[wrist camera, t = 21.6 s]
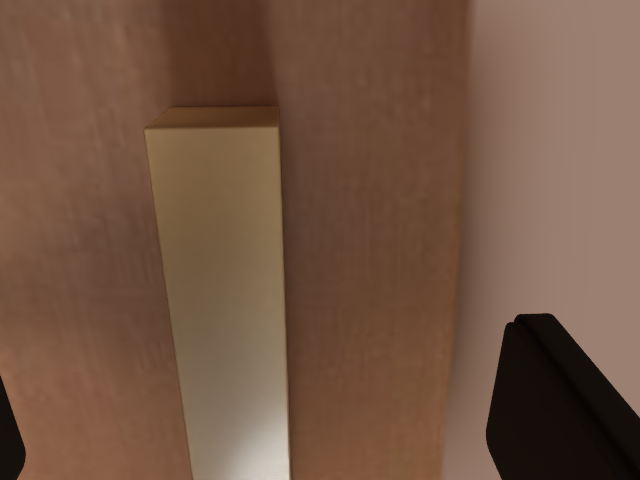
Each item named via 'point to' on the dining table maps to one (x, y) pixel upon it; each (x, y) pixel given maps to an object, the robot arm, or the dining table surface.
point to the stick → (225, 284)
